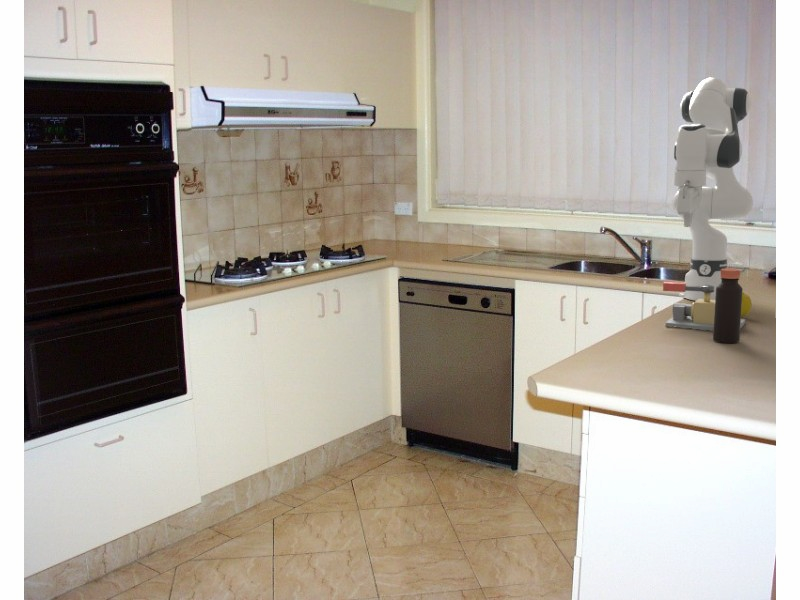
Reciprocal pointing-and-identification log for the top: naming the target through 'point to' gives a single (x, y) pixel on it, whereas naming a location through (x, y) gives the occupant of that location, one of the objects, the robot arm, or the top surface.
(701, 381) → the top surface
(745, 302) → the lemon
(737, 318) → the bottle
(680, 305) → the valve assembly
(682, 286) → the lever
